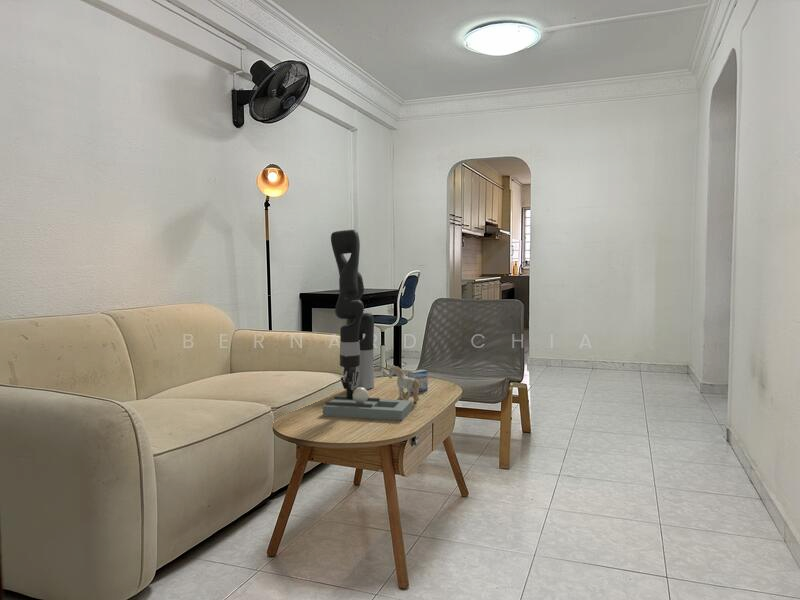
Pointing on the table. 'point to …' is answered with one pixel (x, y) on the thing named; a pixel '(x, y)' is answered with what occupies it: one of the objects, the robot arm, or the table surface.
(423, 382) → the medicine box
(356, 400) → the plastic ball
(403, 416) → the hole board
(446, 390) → the table surface
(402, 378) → the unicorn figurine
